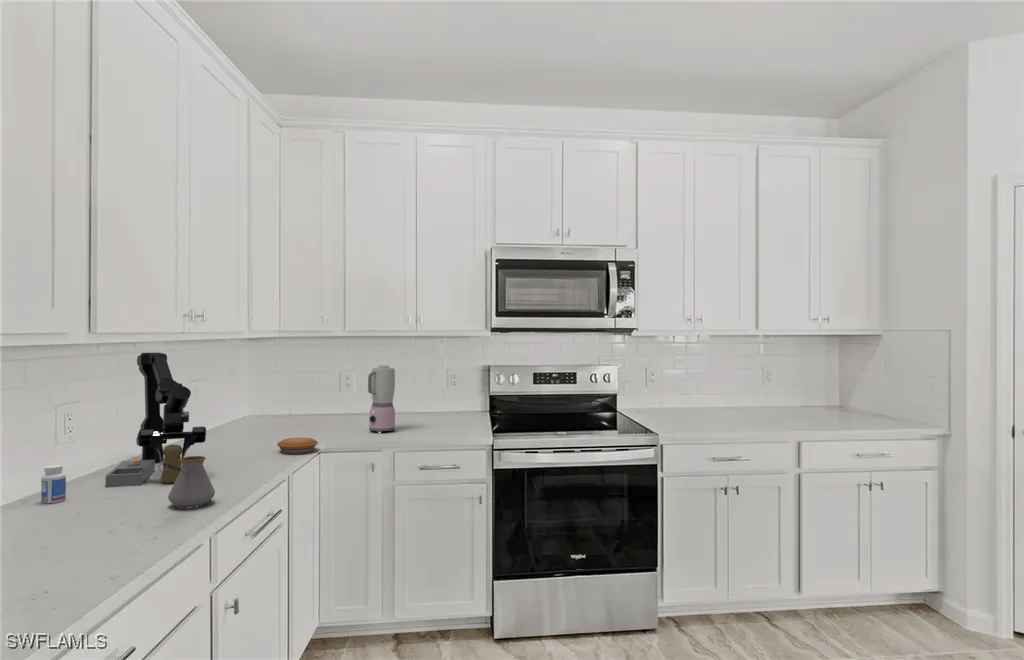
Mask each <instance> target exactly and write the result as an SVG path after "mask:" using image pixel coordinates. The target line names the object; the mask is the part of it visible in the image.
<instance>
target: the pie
mask: <svg viewBox="0 0 1024 660" xmlns="http://www.w3.org/2000/svg"><path fill="white" fill-rule="evenodd" d="M276 445H277V446H278V448H279V449H280V451H281V452H282V453H283V454H284V455H303V454H308V453H311V452H313V451H314V449H315V448H316V446H317V445H319V442H318V441H317V440H316V439H314V438H311V437H291V438H285V439H282V440H281V441H278V442H277V443H276Z"/></svg>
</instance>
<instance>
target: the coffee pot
mask: <svg viewBox="0 0 1024 660" xmlns="http://www.w3.org/2000/svg"><path fill="white" fill-rule="evenodd" d="M206 459H207V458H206V457H205V456H202V455H200V456H199V455H194V456H184V458H182V457H180V459H179V460H180V462H181V467H182V468H180V467H178V466H176V465H173V464H170V463H164V462H163V463H161V464H159V465H158V466H157V469H158V470H159V471H161V472H163V471H165V470H166V469H167V468H170V469H172V470H177V471H180V472H179V475H178V477H177V479H176V481H175V482H173V485H172V488H171V489H170V491H169V493H168V497H167V499H168V501H169V502H170V503H171V504H172V505H174V506H175V507H176V508H177V507H180V508H179V509H184V508H185V509H189V508H188V507H196V506H201V507H203V506H202V505H204V504H206V503H207V504H208V503H209V502H210V501H211V500H212V499H213V498H214V496H215V494H216V492H215V491H216V490H215V488H214V486H213V484H212V482H211V479H210V477H209V476H208V473H207V471H206V469H205V467H204V461H205V460H206ZM160 466H166V469H165V470H163V469H160ZM207 504H206V505H207ZM204 506H205V505H204ZM196 508H197V507H196Z"/></svg>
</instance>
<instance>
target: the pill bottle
mask: <svg viewBox="0 0 1024 660" xmlns="http://www.w3.org/2000/svg"><path fill="white" fill-rule="evenodd" d="M63 466H64V465H63V464H51V465H46V466H44V470H43V471H44V474H43V475H42V476H41V481H40V484H41V487H40V489H41V492H40V493H41V494H40V495H41V496H40V498H41V499H40V502H41V503H42V504H56V503H59V502H60V503H61V502H63V501H65V500H66V499H67V498H66V497H67V492H66V490H67V476H66V473H65V472H63V470H64V468H63Z"/></svg>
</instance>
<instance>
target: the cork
mask: <svg viewBox="0 0 1024 660" xmlns="http://www.w3.org/2000/svg"><path fill="white" fill-rule="evenodd" d="M182 450H183V446H181V445H180V444H169V445H166V446H164V448H163V456H164V462H163V463H170V464H173V465H176V466H178V467H180V468H182V463H181V462H180V460H179V459H180V458H181V456H182ZM162 466H163V467H162V471H161V479H160V482H162V483H175V481H176V479H177V477H178V475H179V472H180V471H177V470H172V469H170V468H167V469H166V466H164V465H162ZM165 469H166V470H165ZM163 470H165V471H163Z"/></svg>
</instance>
